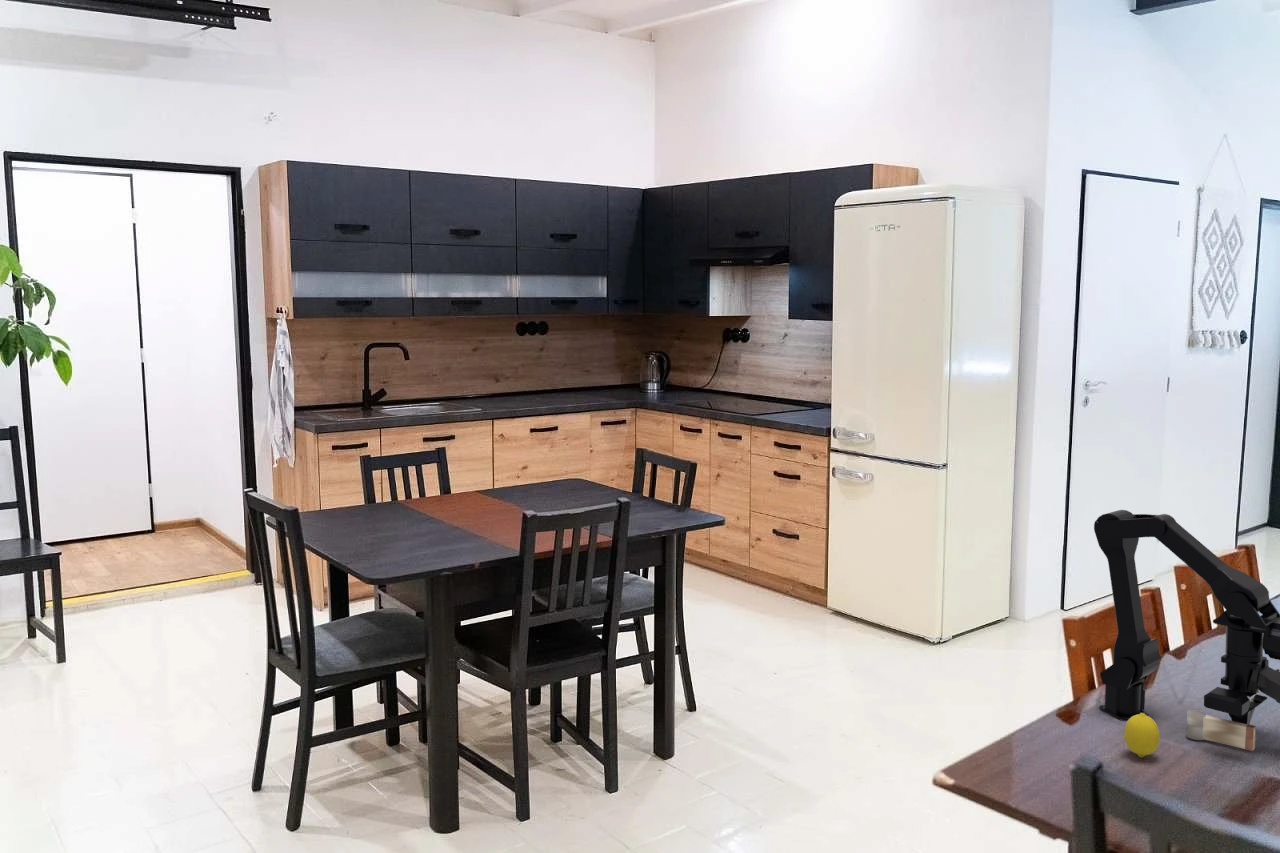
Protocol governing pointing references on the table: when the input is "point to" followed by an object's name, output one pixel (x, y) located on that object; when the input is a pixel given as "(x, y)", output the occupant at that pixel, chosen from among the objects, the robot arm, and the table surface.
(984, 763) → the table surface
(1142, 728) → the lemon
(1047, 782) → the table surface
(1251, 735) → the cream brown-tipped bar
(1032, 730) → the table surface
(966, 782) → the table surface
